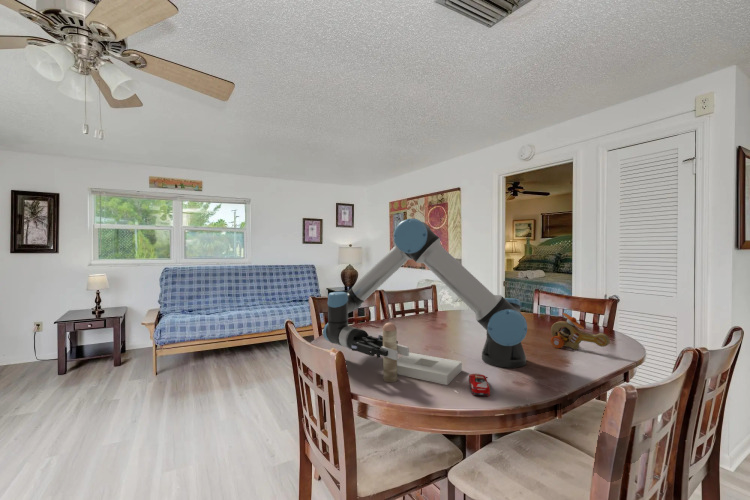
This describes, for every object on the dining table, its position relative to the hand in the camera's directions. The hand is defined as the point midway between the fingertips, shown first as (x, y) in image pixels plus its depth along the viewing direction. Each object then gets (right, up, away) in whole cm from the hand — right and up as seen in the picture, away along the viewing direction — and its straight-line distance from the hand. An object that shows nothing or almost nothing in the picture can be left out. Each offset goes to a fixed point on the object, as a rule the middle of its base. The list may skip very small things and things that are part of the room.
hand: (402, 353), depth 104 cm
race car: (+23, -10, -3) cm, 25 cm away
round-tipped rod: (-4, -9, +4) cm, 11 cm away
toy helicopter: (+72, -8, +32) cm, 79 cm away
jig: (+9, -9, +10) cm, 17 cm away
